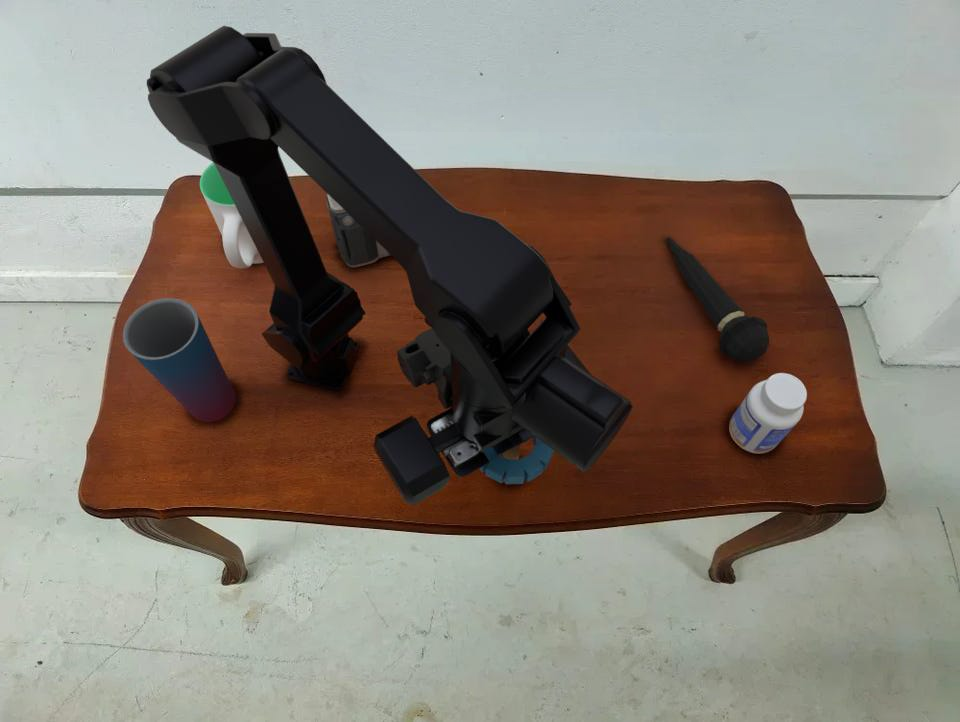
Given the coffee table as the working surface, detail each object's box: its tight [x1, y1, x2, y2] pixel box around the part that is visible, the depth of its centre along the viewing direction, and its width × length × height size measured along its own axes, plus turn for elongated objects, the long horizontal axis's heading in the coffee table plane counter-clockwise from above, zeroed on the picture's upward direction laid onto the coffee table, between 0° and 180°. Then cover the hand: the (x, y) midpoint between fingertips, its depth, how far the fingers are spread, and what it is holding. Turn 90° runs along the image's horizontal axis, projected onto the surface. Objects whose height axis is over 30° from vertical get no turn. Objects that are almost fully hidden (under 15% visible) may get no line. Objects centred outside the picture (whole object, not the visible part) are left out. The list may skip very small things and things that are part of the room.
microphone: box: [665, 237, 770, 363], centre depth 84 cm, size 6×6×20 cm
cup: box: [122, 297, 237, 423], centre depth 71 cm, size 7×7×15 cm
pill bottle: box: [728, 372, 808, 455], centre depth 73 cm, size 5×5×10 cm
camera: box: [325, 193, 392, 269], centre depth 85 cm, size 11×6×10 cm, turn 106°
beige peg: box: [502, 444, 522, 483], centre depth 70 cm, size 3×3×10 cm
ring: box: [479, 436, 555, 485], centre depth 67 cm, size 8×8×2 cm
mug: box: [199, 162, 264, 270], centre depth 84 cm, size 12×8×10 cm
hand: (485, 456), depth 66 cm, fingers closed on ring, 2 cm apart
